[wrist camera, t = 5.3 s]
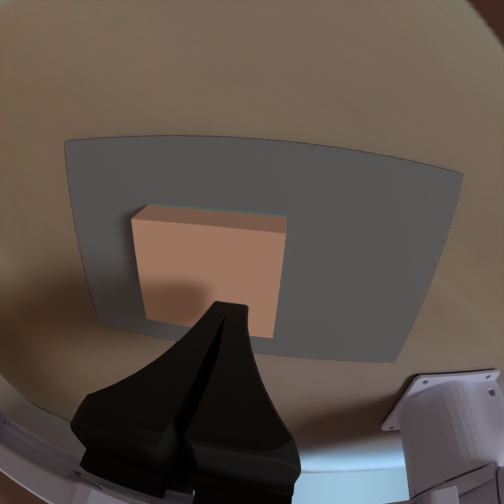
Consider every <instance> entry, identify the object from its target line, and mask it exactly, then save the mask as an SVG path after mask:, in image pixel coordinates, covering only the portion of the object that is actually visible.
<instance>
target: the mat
mask: <svg viewBox="0 0 504 504" xmlns="http://www.w3.org/2000/svg"><path fill="white" fill-rule="evenodd" d="M65 154H66V165H67V174H68V182H69V190H70V197H71V203H72V210H73V215H74V221H75V227H76V232H77V237H78V242H79V247H80V251H81V256H82V260H83V264H84V268H85V273H86V277H87V280H88V284H89V288H90V292H91V295H92V299H93V302H94V306H95V309H96V312H97V316H98V319H99V322H100V324H102V325H106V326H110V327H114V328H118V329H122V330H127V331H131V332H135V333H140V334H145V335H149V336H154V337H159V338H164V339H169V340H174V341H179V340H180V339H181V338H182V337H183V336H184V335H185V334H186V333H187V332H188V331H189V330H190V329H191V328H192V327H188V326H182V325H176V324H170V323H165V322H160V321H154V320H149V319H147V318H146V313H145V308H144V302H143V297H142V291H141V286H140V280H139V273H138V267H137V260H136V253H135V246H134V238H133V230H132V222H131V219H132V218H133V217H134V216H135V215H136V214H137V213H139V212H140V211H141V210H142V209H143V208H145V207H146V206H147V205H148V204H157V205H172V206H185V207H198V208H210V209H222V210H233V211H244V212H254V213H264V214H274V215H283V216H287V228H286V239H285V248H284V256H283V264H282V272H281V280H280V288H279V296H278V303H277V311H276V318H275V325H274V332H273V338H265V337H257V336H249V337H250V342H251V347H252V351H253V353H259V354H267V355H276V356H286V357H296V358H308V359H321V360H336V361H355V362H390V363H394V362H395V360H396V358H397V356H398V354H399V353H400V351H401V349H402V347H403V345H404V343H405V340H406V338H407V336H408V334H409V332H410V330H411V328H412V326H413V324H414V321H415V319H416V317H417V315H418V312H419V310H420V308H421V305H422V303H423V301H424V298H425V296H426V293H427V291H428V288H429V286H430V283H431V281H432V278H433V276H434V273H435V270H436V267H437V265H438V262H439V259H440V256H441V253H442V250H443V247H444V244H445V241H446V238H447V235H448V232H449V228H450V225H451V222H452V218H453V215H454V211H455V207H456V204H457V200H458V196H459V192H460V188H461V183H462V179H463V174H462V173H459V172H455V171H451V170H448V169H444V168H440V167H436V166H432V165H428V164H423V163H419V162H414V161H410V160H405V159H401V158H396V157H391V156H386V155H380V154H375V153H369V152H364V151H358V150H351V149H345V148H338V147H331V146H324V145H316V144H308V143H300V142H290V141H280V140H269V139H257V138H242V137H223V136H188V135H158V136H124V137H106V138H92V139H80V140H70V141H65Z"/></svg>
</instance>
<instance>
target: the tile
mask: <svg viewBox="0 0 504 504" xmlns="http://www.w3.org/2000/svg"><path fill="white" fill-rule="evenodd" d="M131 222H132V230H133V238H134V246H135V253H136V260H137V267H138V273H139V280H140V286H141V291H142V297H143V302H144V308H145V313H146V318H147V319H149V320H154V321H160V322H165V323H170V324H176V325H182V326H188V327H193V326H194V325H195V324H196V323H197V321H198V320H199V319H200V318H201V317H202V316H203V315H204V313H205V312H206V311H207V310H208V309H209V307H210V306H211V305H212V303H213V302H215V301H221V302H229V303H237V304H245V305H247V306H248V307H249V312H248V331H249V336H257V337H265V338H273V332H274V325H275V318H276V311H277V303H278V296H279V288H280V280H281V272H282V264H283V256H284V248H285V239H286V228H287V216H283V215H274V214H264V213H254V212H244V211H233V210H222V209H210V208H198V207H185V206H172V205H157V204H148V205H147V206H146V207H145V208H143V209H142V210H141V211H140V212H139V213H137V214H136V215H135V216H134V217H133V218H132V219H131Z"/></svg>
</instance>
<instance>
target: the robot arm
mask: <svg viewBox="0 0 504 504" xmlns="http://www.w3.org/2000/svg"><path fill="white" fill-rule="evenodd" d="M248 312H249V307H248V306H247V305H245V304H237V303H229V302H221V301H215V302H213V303H212V305H211V306H210V307H209V309H208V310H207V311H206V312H205V313H204V315H203V316H202V317H201V318H200V319H199V320H198V321H197V323H196V324H195V325H194V326H193V327H192V328H191V329H190V330H189V331H188V332H187V333H186V334H185V335H184V336H183V337H182V338H181V339H180V340H179V341H177V342H176V343H175V344H174V345H173V346H172V347H171V348H170V349H169V350H167V351H166V352H165V353H164V354H162V355H161V356H160V357H158V358H157V359H156V360H154V361H153V362H151V363H150V364H149V365H147V366H146V367H144V368H143V369H141V370H139V371H138V372H136V373H134V374H133V375H131V376H129V377H127V378H125V379H123V380H121V381H119V382H118V383H116V384H113V385H111V386H109V387H107V388H104V389H101V390H99V391H96V392H94V393H91V394H88V395H87V396H86V397H85V399H84V400H83V402H82V403H81V405H80V406H79V408H78V410H77V412H76V414H75V415H74V417H73V419H72V421H71V423H70V426H71V430H72V431H73V433H74V434H75V436H76V437H77V438H78V439H79V440H80V442H81V443H82V444H83V445H84V446H85V447H86V451H85V453H84V456H83V458H80V457H77V456H75V455H73V454H71V453H69V452H67V451H65V450H63V449H61V448H59V447H57V446H55V445H53V444H51V443H49V442H48V441H46V440H44V439H42V438H40V437H38V436H37V435H35V434H33V433H31V432H30V431H28V430H26V429H25V428H23V427H21V426H20V425H18V424H17V423H15V422H13V421H12V420H10V419H9V418H7V417H6V415H5V414H4V413H3V411H2V410H1V409H0V470H1V471H2V472H3V473H4V474H6V475H8V476H9V477H10V478H11V479H13V480H14V481H15V482H17V483H18V484H20V485H22V486H23V487H24V488H26V489H27V490H29V491H30V492H32V493H33V494H35V495H36V496H38V497H40V498H41V499H43V500H45V501H46V502H48V503H50V504H137V503H134V502H131V501H128V500H126V499H123V498H120V497H118V496H115V495H112V494H110V493H107V492H105V491H103V490H102V489H101V487H99V486H97V485H100V486H102V487H104V488H107V489H109V490H112V491H115V492H117V493H120V494H122V495H125V496H128V497H131V498H134V499H137V500H140V501H143V502H146V503H149V504H291V502H292V496H293V493H294V484H295V482H296V480H297V479H298V477H299V476H300V473H301V463H300V458H299V454H298V450H297V447H296V444H295V441H294V438H293V436H292V435H291V433H290V432H289V431H288V429H287V428H286V426H285V424H284V423H283V421H282V420H281V418H280V416H279V415H278V413H277V411H276V409H275V407H274V405H273V403H272V401H271V399H270V397H269V395H268V393H267V391H266V389H265V387H264V384H263V382H262V380H261V377H260V374H259V371H258V368H257V365H256V362H255V359H254V355H253V351H252V347H251V342H250V337H249V331H248ZM499 374H500V372H499V370H498V369H496V370H487V371H477V372H466V373H452V374H435V375H419V376H417V377H415V378H414V379H413V381H412V382H411V384H410V386H409V387H408V389H407V390H406V392H405V393H404V395H403V396H402V398H401V399H400V401H399V402H398V403H397V405H396V406H395V408H394V409H393V411H392V412H391V413H390V415H389V416H388V417H387V419H386V420H385V422H384V423H383V424H382V426H381V429H382V430H383V431H387V430H400V433H401V439H402V445H403V451H404V458H405V465H406V472H407V480H408V488H409V498H410V500H407V501H401V502H394V503H388V504H504V399H503V396H502V394H501V391H500V389H499V387H498V385H497V382H496V379H497V377H498V376H499ZM92 482H93V483H92ZM94 483H95V484H97V485H95V484H94ZM193 490H194V491H195V495H193Z"/></svg>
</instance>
